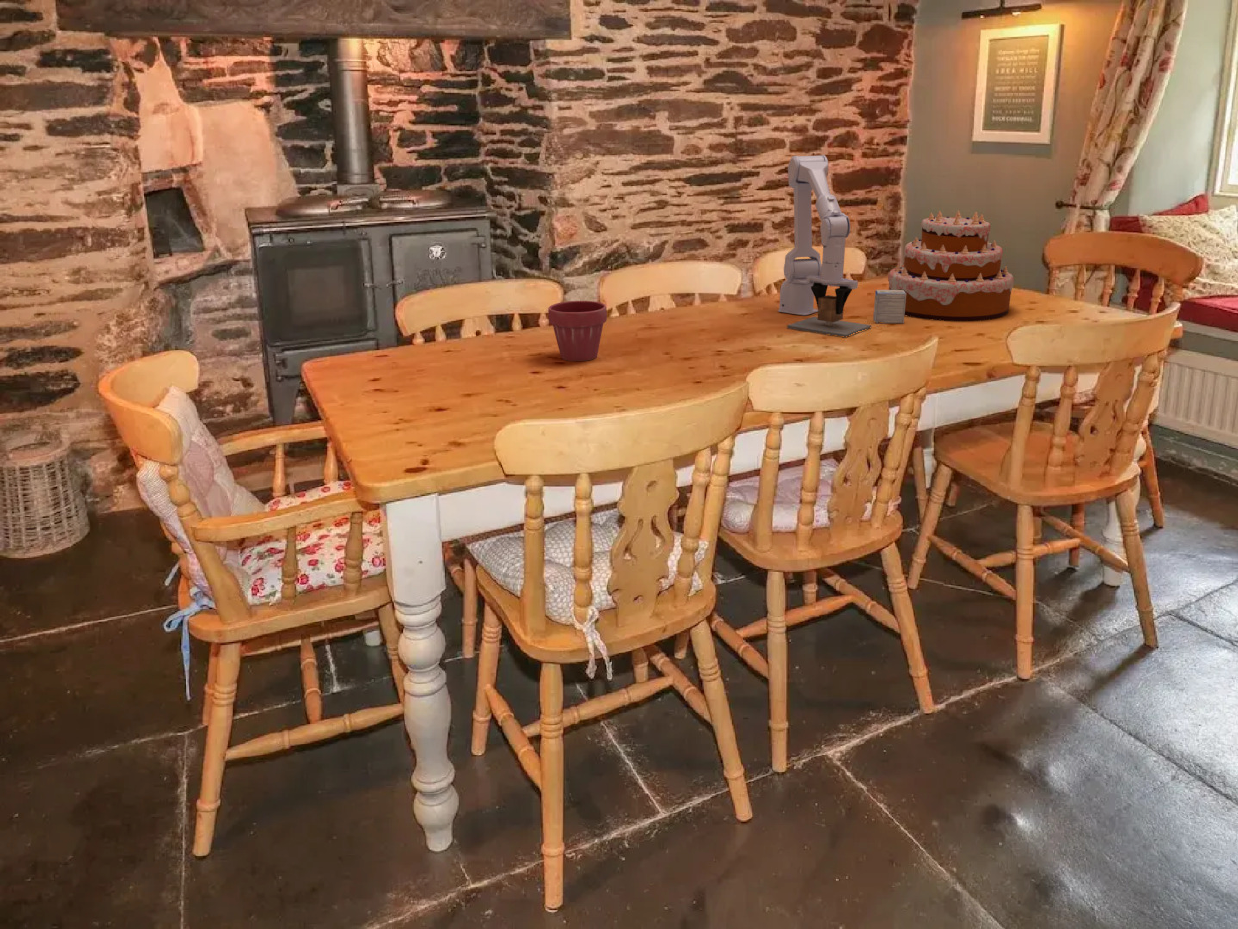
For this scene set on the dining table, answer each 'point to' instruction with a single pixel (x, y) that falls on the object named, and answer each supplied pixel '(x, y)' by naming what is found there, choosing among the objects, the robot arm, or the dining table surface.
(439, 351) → the dining table surface
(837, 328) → the pin board
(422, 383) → the dining table surface
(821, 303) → the walnut collar
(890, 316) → the medicine box
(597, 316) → the plant pot
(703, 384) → the dining table surface
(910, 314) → the cake
